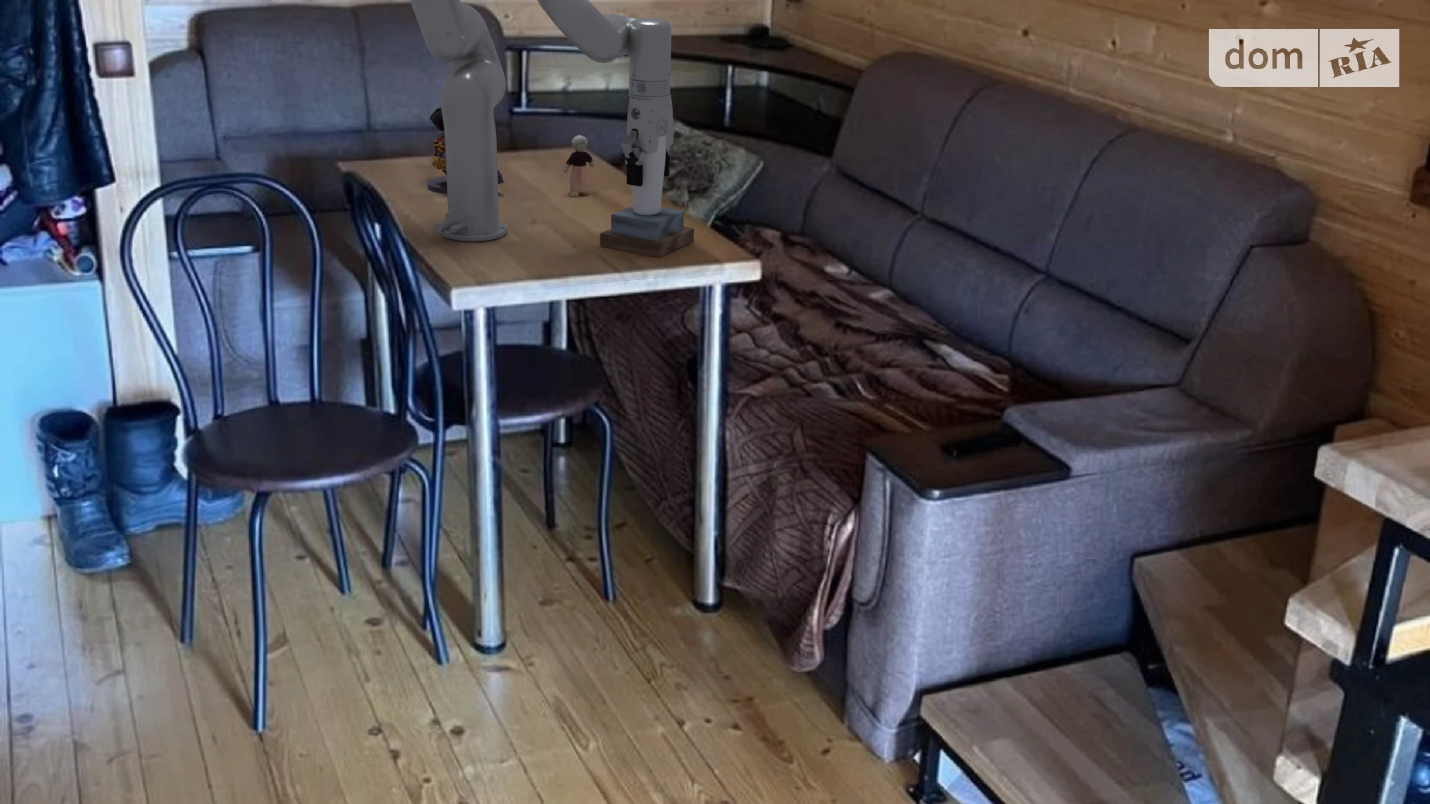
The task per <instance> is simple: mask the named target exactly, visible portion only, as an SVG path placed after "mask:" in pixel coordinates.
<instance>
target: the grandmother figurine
mask: <svg viewBox="0 0 1430 804" xmlns="http://www.w3.org/2000/svg"><path fill="white" fill-rule="evenodd" d="M588 142H589V141H588V139H587V137H585V136H584V135H582V134H578V135H576V136H574V137H573V138H572V141H571V146H572V147H573V149H574V150H575V151H574V152H573V151H572V153H571V154H570V156H569V157H568V158H567V160H566V162H565V165H564V168H563V172H564V173H568V172H569V169H570V167H572V169H571V174H570V179H569V180H570V181H569V182H570V183H569V191H570V192H569V193H568V195H569V196H570V197H573V198H574V197H575V198H576V197H580V196H587V195H589V191H588V175H587V163H588V164H589V168H594V167H595V163H594V161H593V157H592V156H591V154H590V153H589V152H586V151H585V150H586V148H587V144H588Z"/></svg>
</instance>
